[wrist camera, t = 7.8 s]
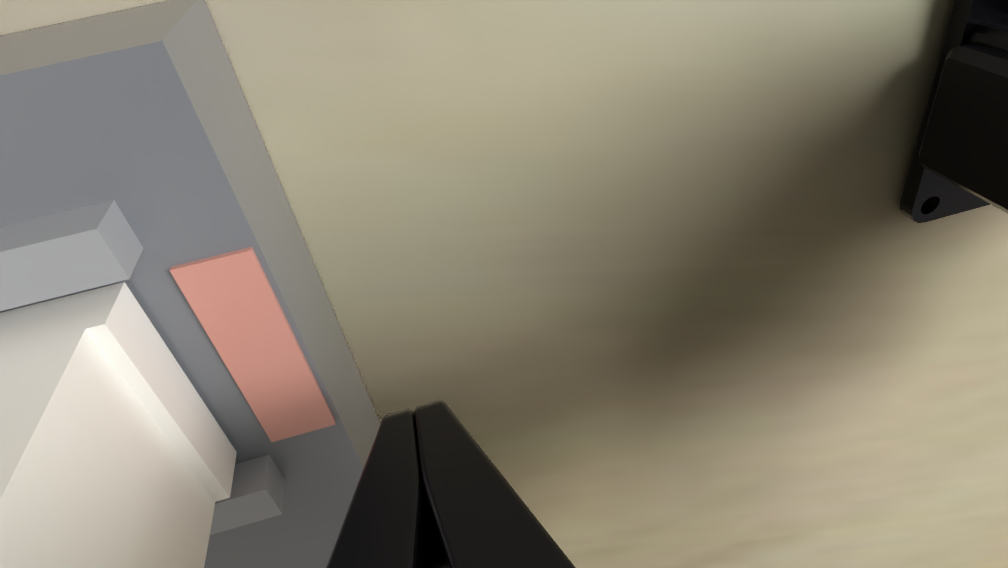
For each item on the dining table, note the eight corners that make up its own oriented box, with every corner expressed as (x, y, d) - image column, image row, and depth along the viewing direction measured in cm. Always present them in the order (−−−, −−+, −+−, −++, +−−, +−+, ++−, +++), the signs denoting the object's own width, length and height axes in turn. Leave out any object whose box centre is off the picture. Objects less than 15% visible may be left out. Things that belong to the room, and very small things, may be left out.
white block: (123, 281, 9) (-60, 679, 5) (236, 452, 11) (182, 817, 7) (-93, 335, 9) (-501, 811, 4) (69, 499, 11) (-93, 909, 7)
